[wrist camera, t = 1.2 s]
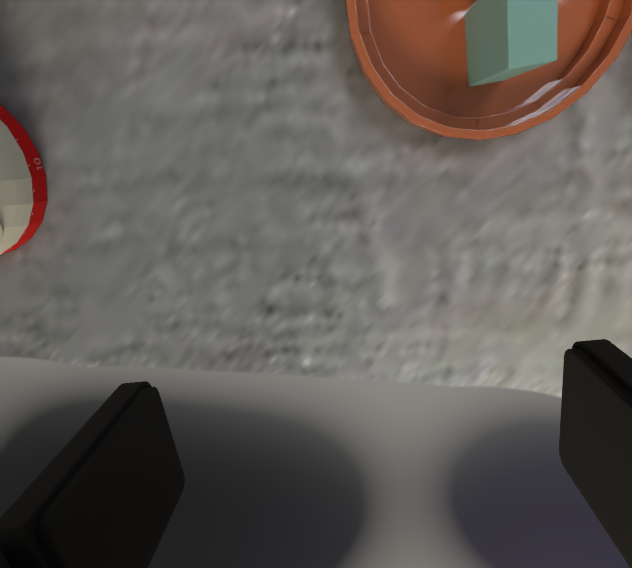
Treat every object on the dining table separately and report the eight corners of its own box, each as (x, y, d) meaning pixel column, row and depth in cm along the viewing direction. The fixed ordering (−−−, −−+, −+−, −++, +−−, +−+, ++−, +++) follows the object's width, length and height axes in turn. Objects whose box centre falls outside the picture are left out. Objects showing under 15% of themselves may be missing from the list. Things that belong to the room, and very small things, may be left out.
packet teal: (464, 14, 28) (506, -32, 21) (502, 6, 28) (559, -43, 21) (467, 87, 30) (508, 69, 22) (504, 80, 30) (557, 60, 22)
